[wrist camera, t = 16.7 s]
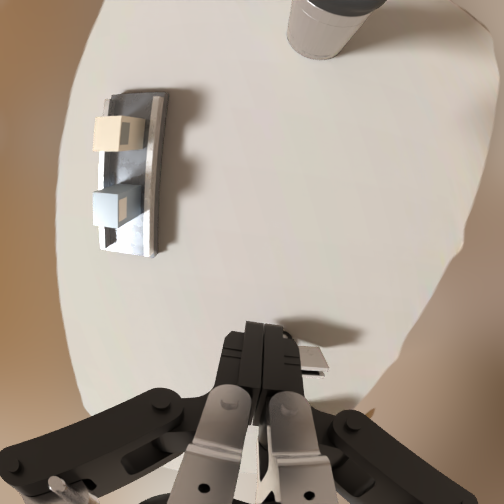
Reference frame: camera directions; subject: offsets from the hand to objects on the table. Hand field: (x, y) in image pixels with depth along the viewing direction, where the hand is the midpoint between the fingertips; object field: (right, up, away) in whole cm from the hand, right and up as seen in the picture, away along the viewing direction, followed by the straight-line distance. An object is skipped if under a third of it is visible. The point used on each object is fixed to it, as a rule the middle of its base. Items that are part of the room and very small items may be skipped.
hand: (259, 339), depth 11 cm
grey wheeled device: (+13, -17, +40) cm, 45 cm away
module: (-21, +13, +32) cm, 40 cm away
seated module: (-20, +23, +28) cm, 41 cm away
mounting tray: (-20, +17, +32) cm, 42 cm away
